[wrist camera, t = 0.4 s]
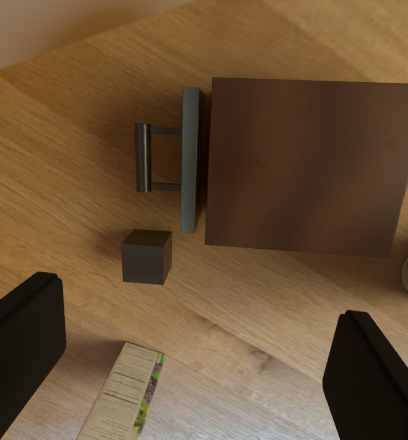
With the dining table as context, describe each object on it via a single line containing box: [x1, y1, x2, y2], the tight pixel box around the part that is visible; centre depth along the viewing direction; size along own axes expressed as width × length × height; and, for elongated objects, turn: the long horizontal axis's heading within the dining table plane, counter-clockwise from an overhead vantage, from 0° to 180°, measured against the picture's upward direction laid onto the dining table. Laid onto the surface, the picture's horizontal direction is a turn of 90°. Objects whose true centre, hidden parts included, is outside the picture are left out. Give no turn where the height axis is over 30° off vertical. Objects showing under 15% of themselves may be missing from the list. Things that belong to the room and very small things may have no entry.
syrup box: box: [76, 342, 165, 440], centre depth 34 cm, size 6×6×14 cm
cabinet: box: [205, 77, 408, 258], centre depth 27 cm, size 15×13×9 cm
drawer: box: [135, 87, 207, 233], centre depth 27 cm, size 18×11×7 cm, turn 88°
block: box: [121, 230, 172, 285], centre depth 33 cm, size 4×4×4 cm
